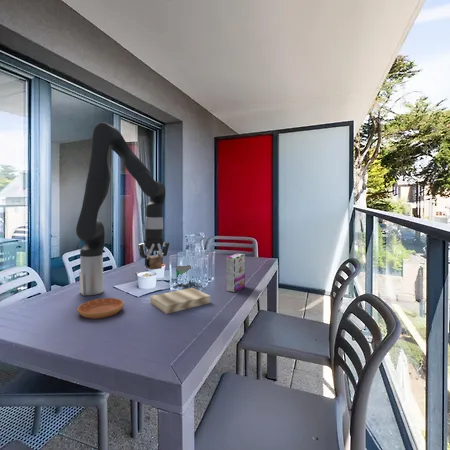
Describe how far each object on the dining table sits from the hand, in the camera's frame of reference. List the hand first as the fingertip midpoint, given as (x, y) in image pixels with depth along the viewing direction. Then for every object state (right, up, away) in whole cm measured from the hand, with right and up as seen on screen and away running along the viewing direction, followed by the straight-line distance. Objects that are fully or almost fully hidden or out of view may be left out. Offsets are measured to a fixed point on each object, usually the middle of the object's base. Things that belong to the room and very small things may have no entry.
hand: (153, 266), depth 125 cm
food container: (+11, -12, +23) cm, 28 cm away
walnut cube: (0, -1, 0) cm, 1 cm away
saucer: (-16, -15, -17) cm, 27 cm away
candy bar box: (+36, -13, +14) cm, 41 cm away
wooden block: (+13, -14, -7) cm, 20 cm away
